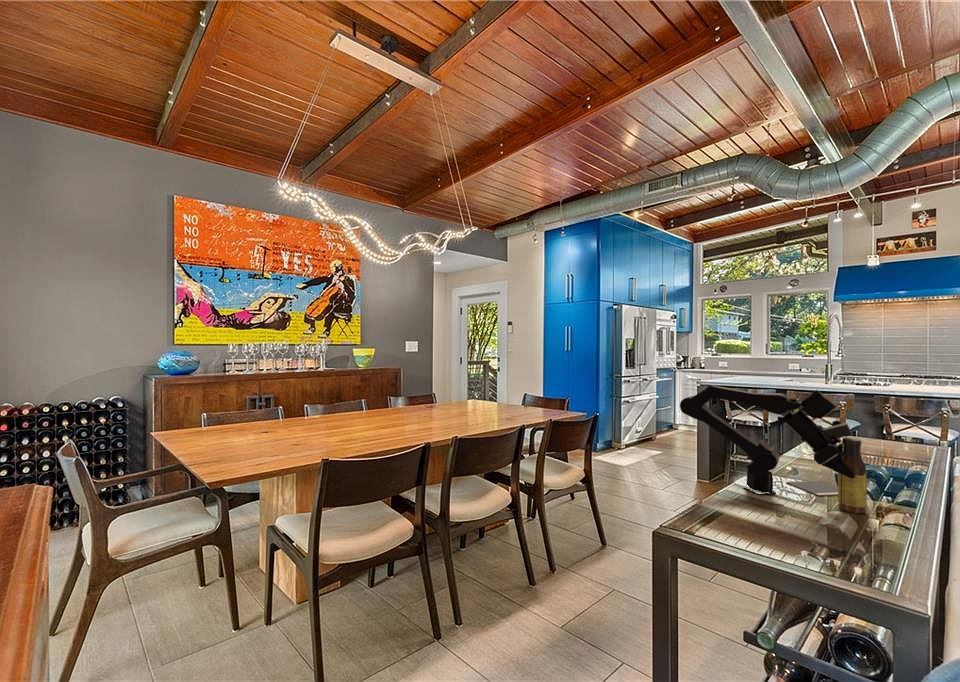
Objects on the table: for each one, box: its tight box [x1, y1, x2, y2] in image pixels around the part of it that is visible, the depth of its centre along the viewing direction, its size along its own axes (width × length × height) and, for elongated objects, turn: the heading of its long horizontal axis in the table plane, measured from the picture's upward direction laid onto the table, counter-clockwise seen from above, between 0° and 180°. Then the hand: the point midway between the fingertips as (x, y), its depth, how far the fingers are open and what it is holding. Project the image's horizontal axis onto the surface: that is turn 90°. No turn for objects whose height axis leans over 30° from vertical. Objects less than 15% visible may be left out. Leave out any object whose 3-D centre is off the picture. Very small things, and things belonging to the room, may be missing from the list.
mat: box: [786, 480, 838, 497], centre depth 144 cm, size 14×12×1 cm
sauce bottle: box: [837, 437, 868, 514], centre depth 126 cm, size 7×6×20 cm
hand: (854, 473), depth 126 cm, fingers open, 9 cm apart
